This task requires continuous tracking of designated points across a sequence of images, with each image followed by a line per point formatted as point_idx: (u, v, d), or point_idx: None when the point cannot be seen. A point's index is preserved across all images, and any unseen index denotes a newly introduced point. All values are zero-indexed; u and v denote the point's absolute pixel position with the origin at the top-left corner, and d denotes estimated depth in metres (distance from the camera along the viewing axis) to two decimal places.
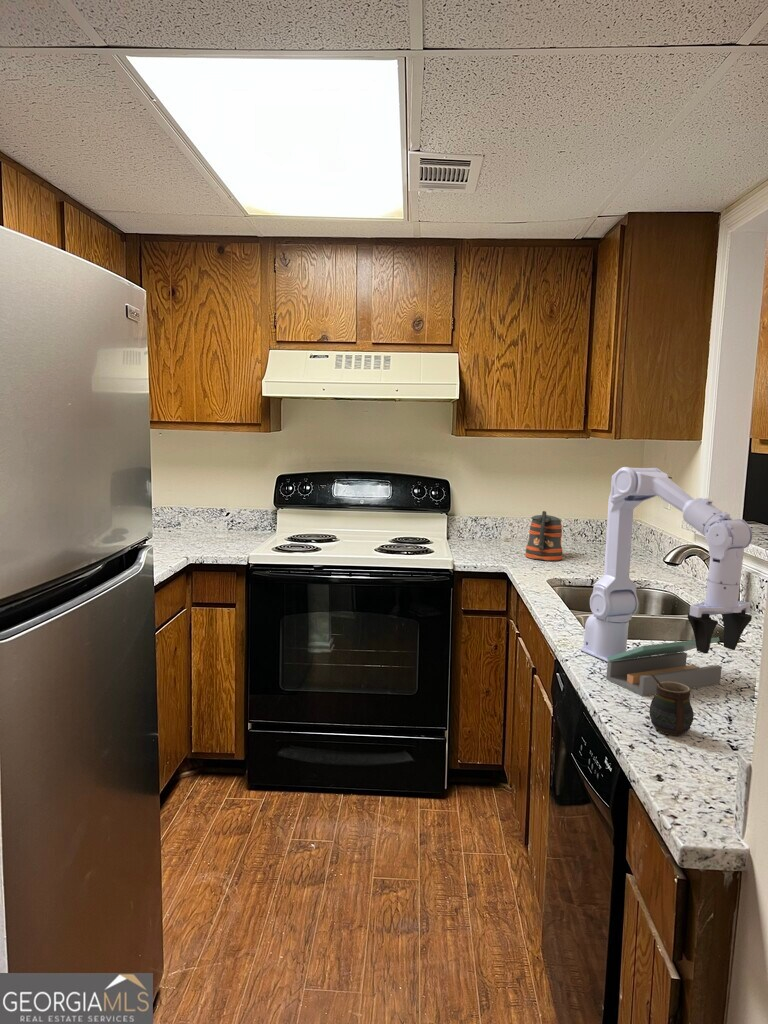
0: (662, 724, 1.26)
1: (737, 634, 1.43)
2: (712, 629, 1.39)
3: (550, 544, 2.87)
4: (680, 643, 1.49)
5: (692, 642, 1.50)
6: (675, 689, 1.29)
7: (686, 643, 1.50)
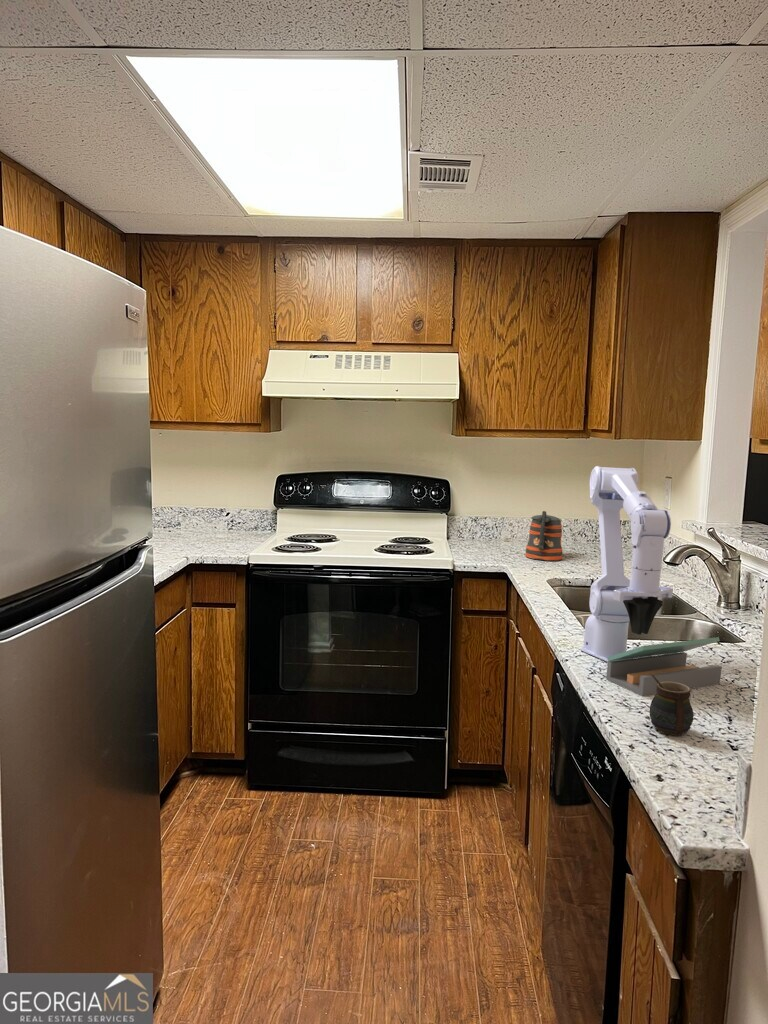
0: (662, 724, 1.26)
1: (649, 619, 1.50)
2: (644, 611, 1.48)
3: (550, 544, 2.87)
4: (680, 643, 1.49)
5: (692, 642, 1.50)
6: (675, 689, 1.29)
7: (686, 643, 1.50)
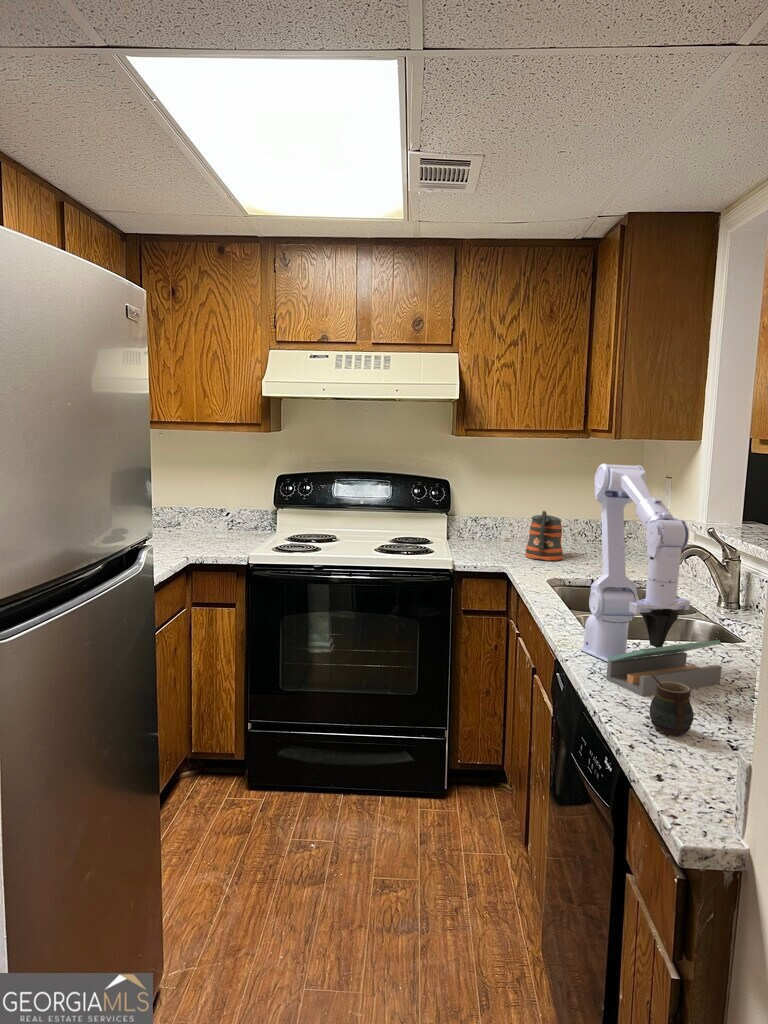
0: (662, 724, 1.26)
1: (664, 632, 1.46)
2: (663, 624, 1.45)
3: (550, 544, 2.87)
4: (681, 646, 1.49)
5: (693, 645, 1.50)
6: (675, 689, 1.29)
7: (687, 646, 1.49)
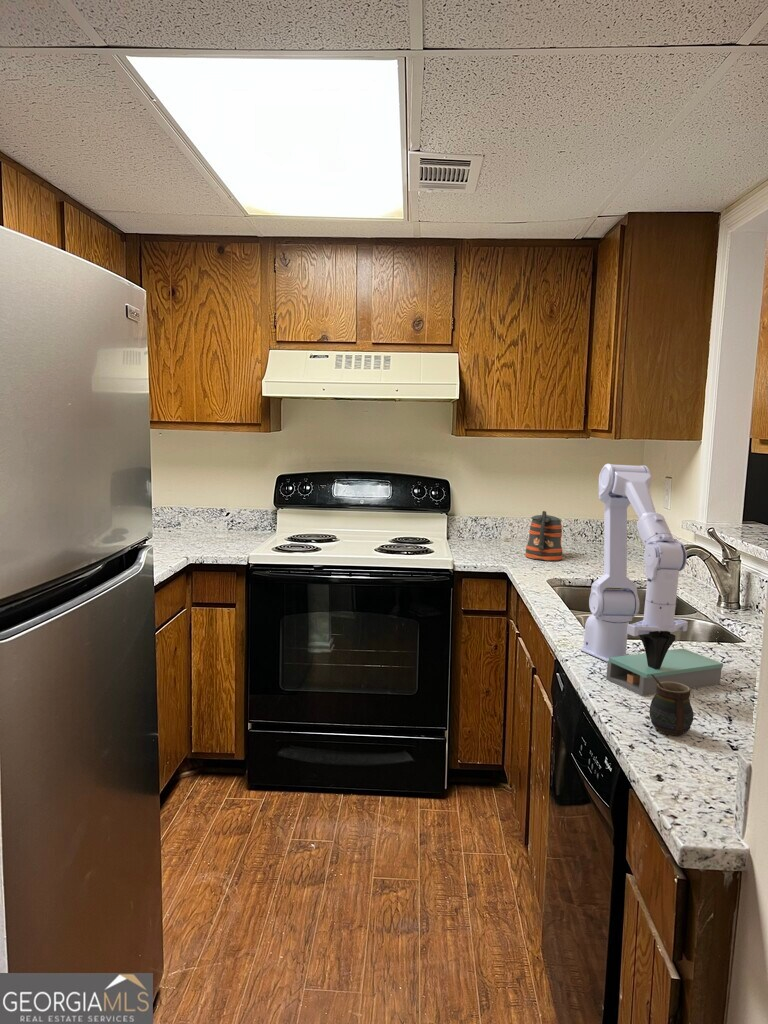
0: (662, 724, 1.26)
1: (662, 653, 1.46)
2: (661, 646, 1.45)
3: (550, 544, 2.87)
4: (684, 670, 1.48)
5: (696, 669, 1.50)
6: (675, 689, 1.29)
7: (690, 670, 1.49)
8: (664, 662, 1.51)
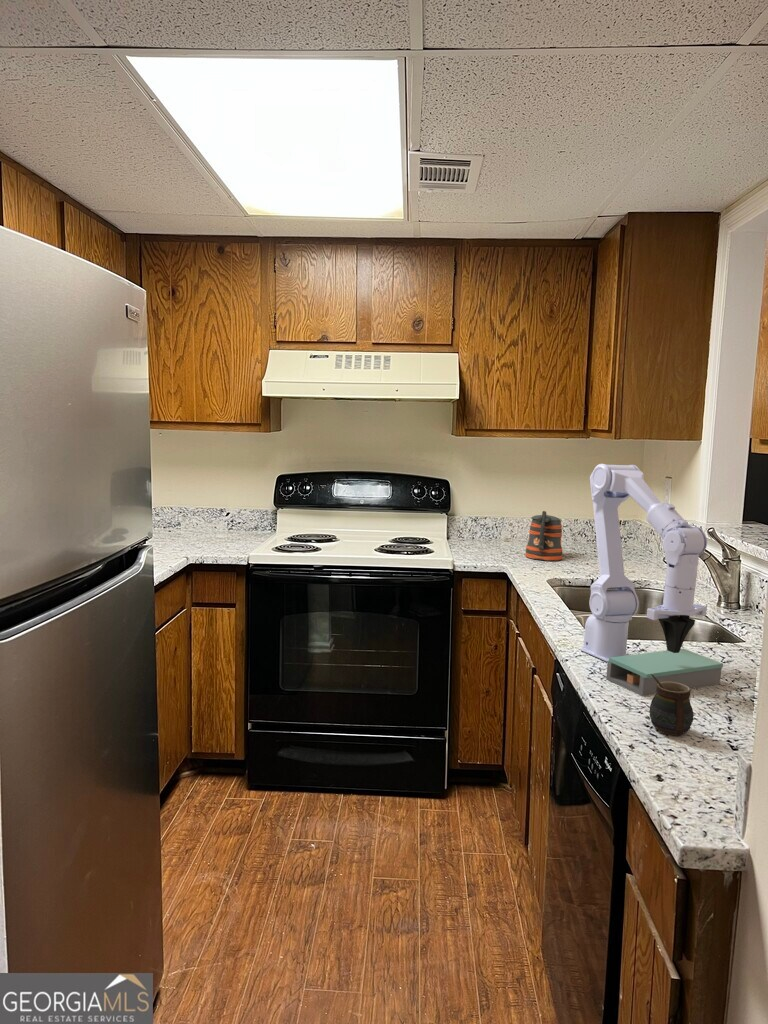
0: (662, 724, 1.26)
1: (681, 637, 1.49)
2: (681, 630, 1.47)
3: (550, 544, 2.87)
4: (684, 670, 1.48)
5: (696, 669, 1.50)
6: (675, 689, 1.29)
7: (690, 670, 1.49)
8: (664, 662, 1.51)
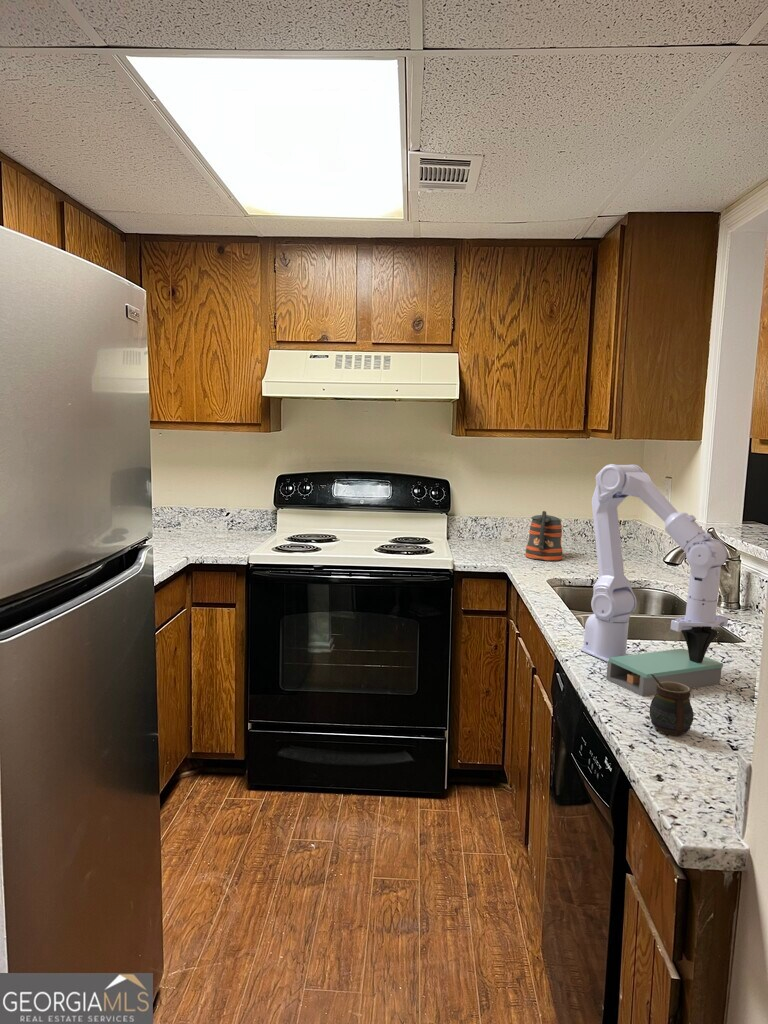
0: (662, 724, 1.26)
1: (703, 648, 1.52)
2: (703, 641, 1.51)
3: (550, 544, 2.87)
4: (684, 670, 1.48)
5: (696, 669, 1.50)
6: (675, 689, 1.29)
7: (690, 670, 1.49)
8: (664, 662, 1.51)
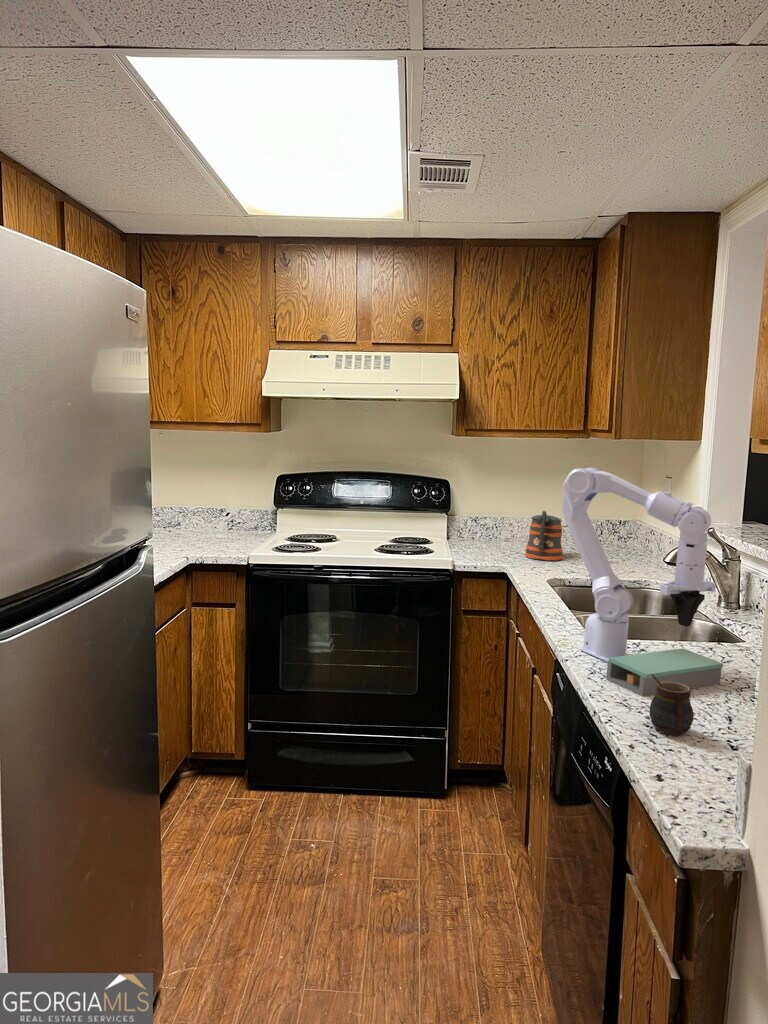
0: (662, 724, 1.26)
1: (692, 612, 1.58)
2: (691, 604, 1.57)
3: (550, 544, 2.87)
4: (684, 670, 1.48)
5: (696, 669, 1.50)
6: (675, 689, 1.29)
7: (690, 670, 1.49)
8: (664, 662, 1.51)
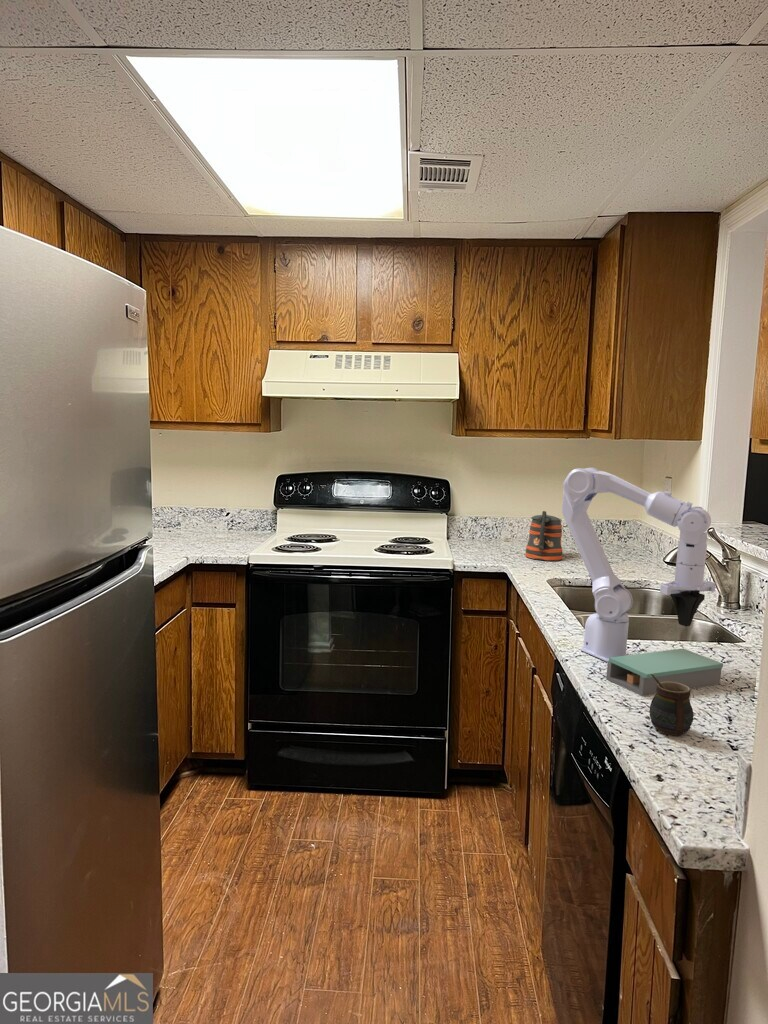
0: (662, 724, 1.26)
1: (692, 611, 1.58)
2: (692, 604, 1.57)
3: (550, 544, 2.87)
4: (684, 670, 1.48)
5: (696, 669, 1.50)
6: (675, 689, 1.29)
7: (690, 670, 1.49)
8: (664, 662, 1.51)
